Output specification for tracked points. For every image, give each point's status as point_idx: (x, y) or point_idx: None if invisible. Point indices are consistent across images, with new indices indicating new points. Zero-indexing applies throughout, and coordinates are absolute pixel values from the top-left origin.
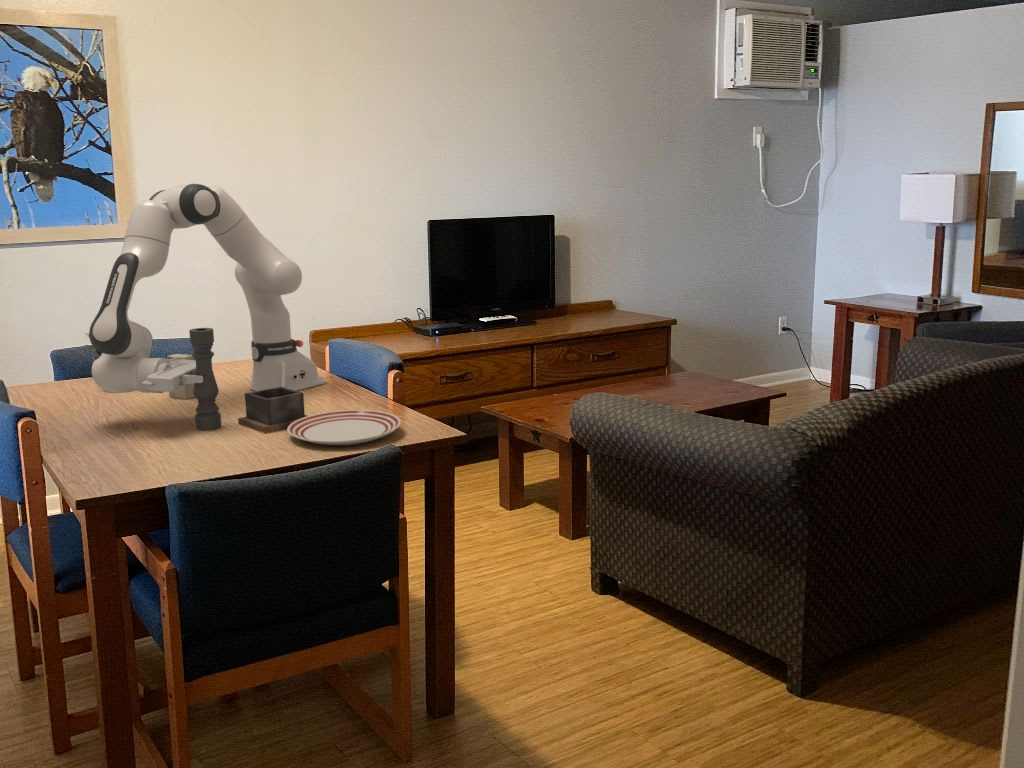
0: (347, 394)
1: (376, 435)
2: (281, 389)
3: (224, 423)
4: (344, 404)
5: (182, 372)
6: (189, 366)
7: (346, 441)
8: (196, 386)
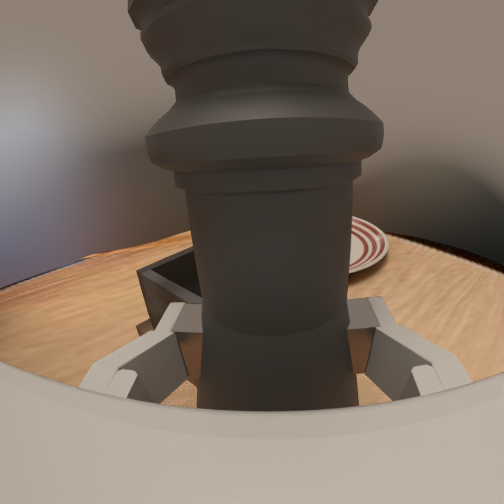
0: (44, 288)
1: None
2: (158, 269)
3: None
4: (102, 282)
5: (466, 388)
6: (55, 448)
7: (371, 224)
8: (351, 405)
